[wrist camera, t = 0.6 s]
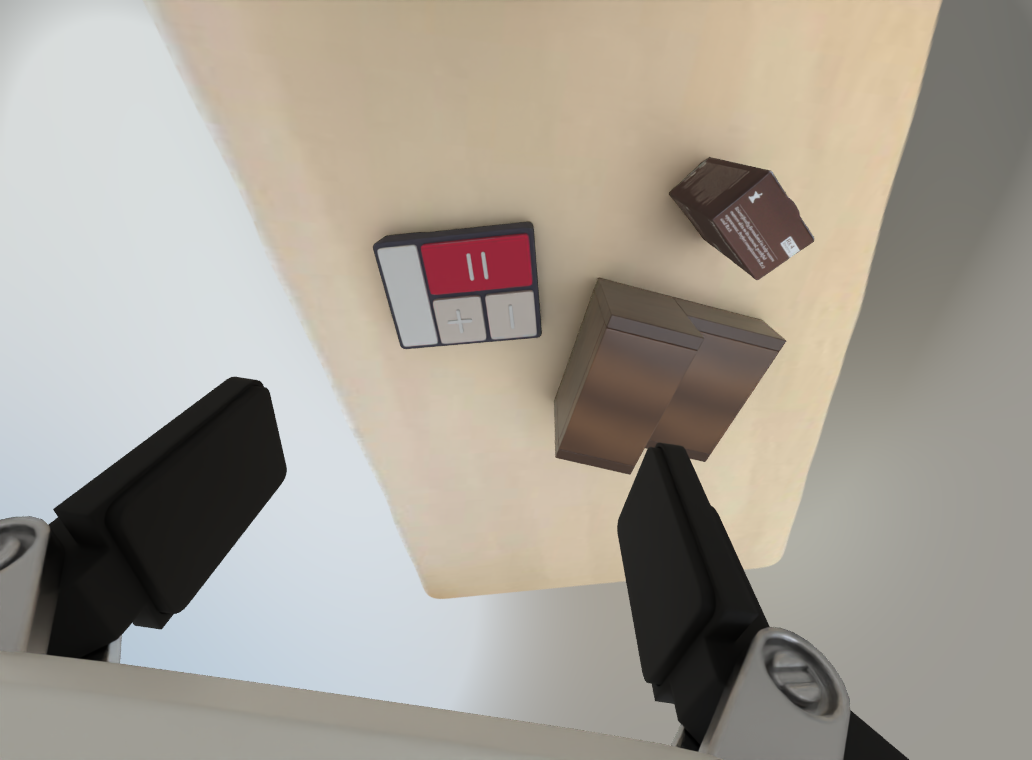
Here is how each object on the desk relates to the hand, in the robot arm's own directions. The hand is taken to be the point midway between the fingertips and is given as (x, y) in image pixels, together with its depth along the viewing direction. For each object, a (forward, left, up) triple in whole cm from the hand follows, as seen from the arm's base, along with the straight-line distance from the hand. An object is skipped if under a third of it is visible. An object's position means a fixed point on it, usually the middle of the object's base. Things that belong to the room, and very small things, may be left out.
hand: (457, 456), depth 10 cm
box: (-6, +16, -33) cm, 37 cm away
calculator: (+7, -4, -33) cm, 34 cm away
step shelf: (+11, +17, -33) cm, 39 cm away
